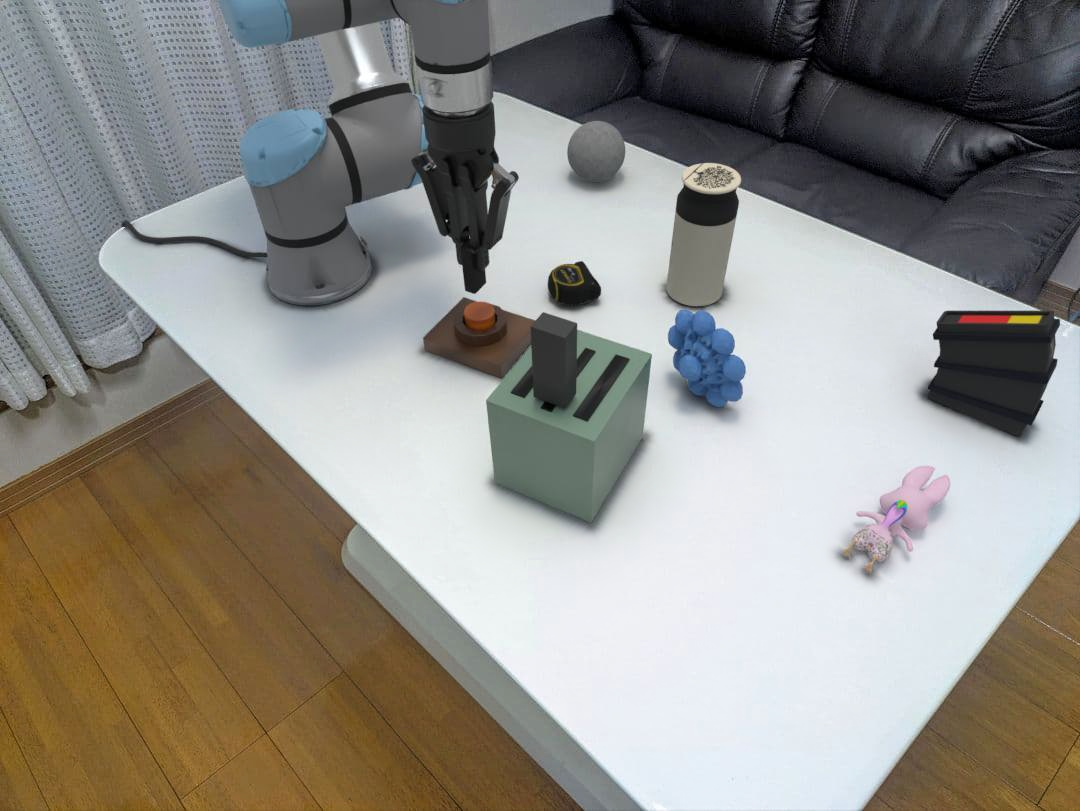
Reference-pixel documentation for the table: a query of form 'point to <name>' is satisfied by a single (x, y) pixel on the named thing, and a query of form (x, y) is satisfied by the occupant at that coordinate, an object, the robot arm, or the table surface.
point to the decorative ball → (596, 151)
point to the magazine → (995, 365)
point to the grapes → (706, 357)
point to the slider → (554, 359)
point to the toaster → (571, 427)
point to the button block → (480, 339)
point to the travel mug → (702, 233)
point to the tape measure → (573, 284)
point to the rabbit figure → (900, 514)
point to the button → (479, 315)
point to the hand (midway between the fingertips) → (475, 286)
